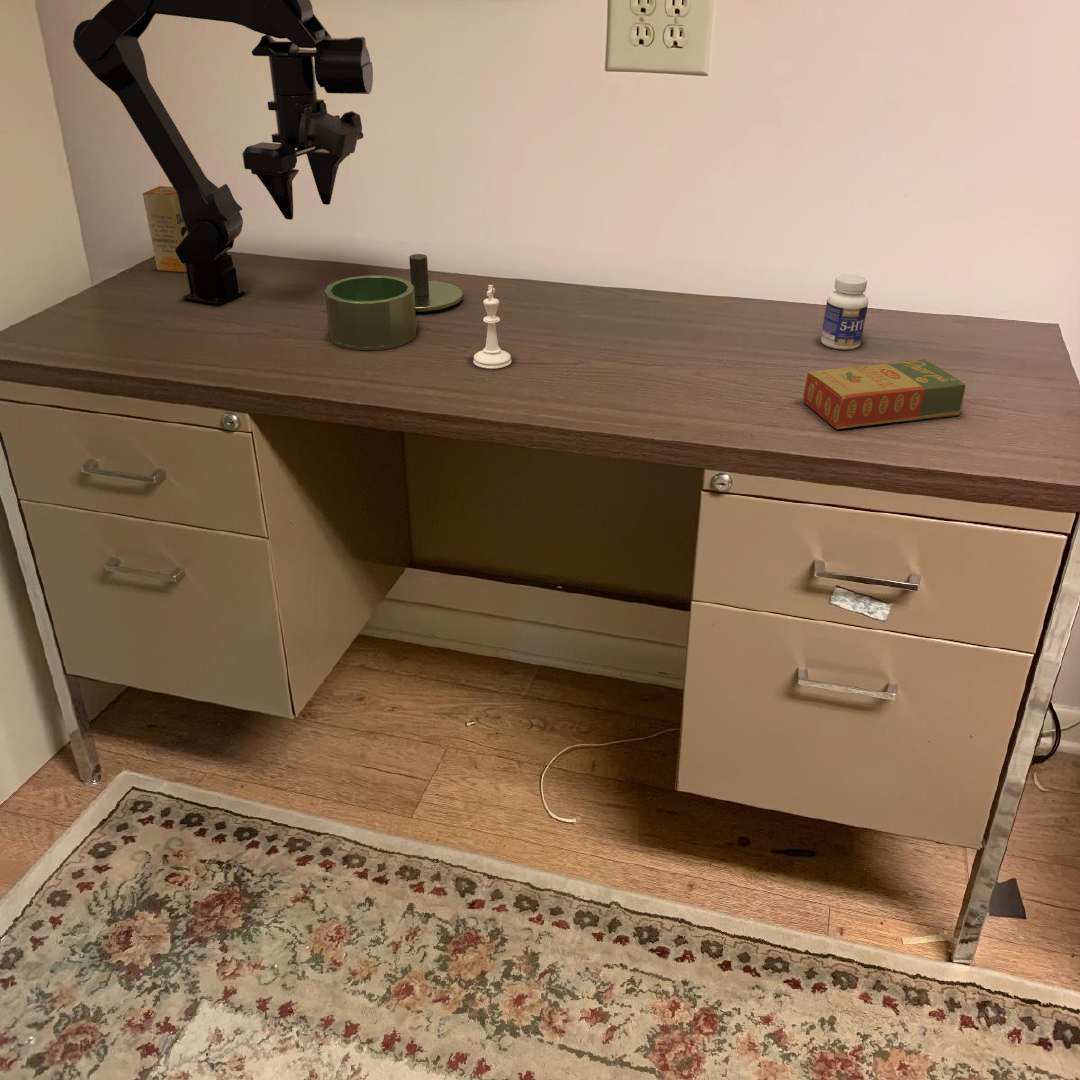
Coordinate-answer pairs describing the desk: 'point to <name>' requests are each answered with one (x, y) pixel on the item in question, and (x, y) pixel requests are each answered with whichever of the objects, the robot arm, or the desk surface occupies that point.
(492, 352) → the chess piece
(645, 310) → the desk surface
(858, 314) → the pill bottle
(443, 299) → the lid
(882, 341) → the desk surface
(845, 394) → the carton
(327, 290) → the tin
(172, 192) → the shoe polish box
